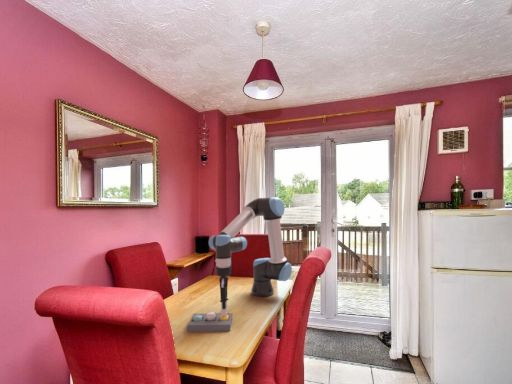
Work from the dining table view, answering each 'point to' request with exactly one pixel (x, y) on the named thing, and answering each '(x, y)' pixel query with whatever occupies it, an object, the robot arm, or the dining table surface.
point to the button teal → (197, 318)
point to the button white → (210, 316)
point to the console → (209, 324)
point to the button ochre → (224, 317)
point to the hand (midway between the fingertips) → (224, 314)
